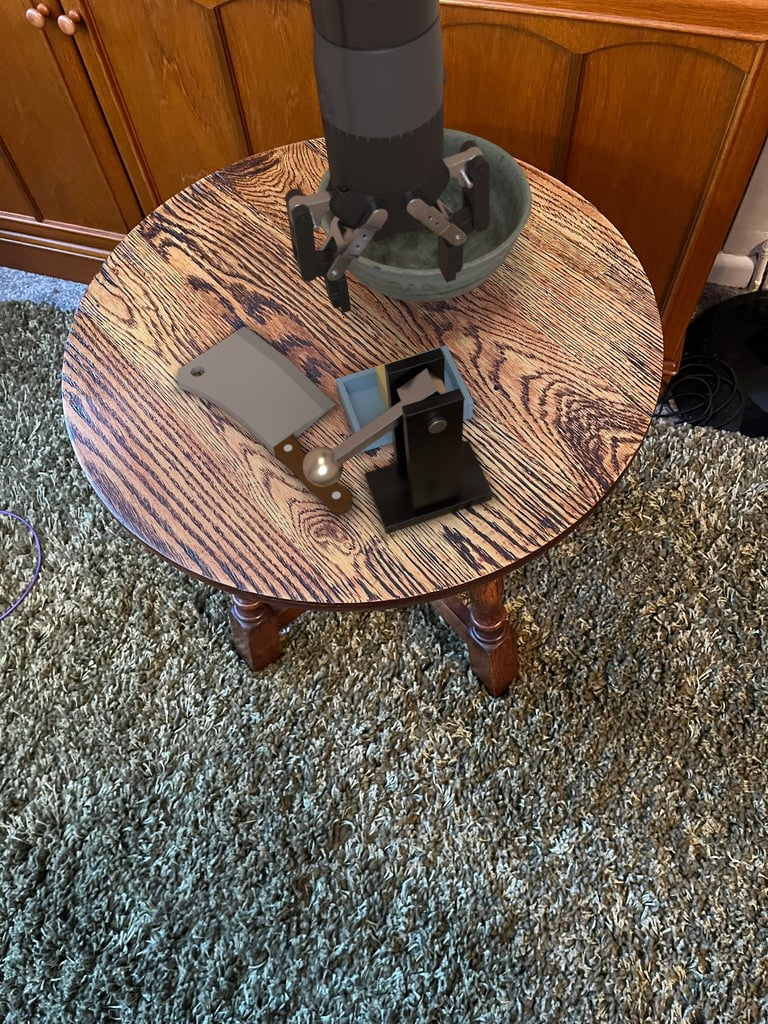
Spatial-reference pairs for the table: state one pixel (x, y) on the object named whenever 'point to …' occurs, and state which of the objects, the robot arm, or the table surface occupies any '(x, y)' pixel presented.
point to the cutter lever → (368, 432)
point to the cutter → (426, 454)
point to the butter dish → (367, 404)
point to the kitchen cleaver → (264, 400)
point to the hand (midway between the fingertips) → (395, 289)
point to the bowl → (414, 256)
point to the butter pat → (383, 383)
